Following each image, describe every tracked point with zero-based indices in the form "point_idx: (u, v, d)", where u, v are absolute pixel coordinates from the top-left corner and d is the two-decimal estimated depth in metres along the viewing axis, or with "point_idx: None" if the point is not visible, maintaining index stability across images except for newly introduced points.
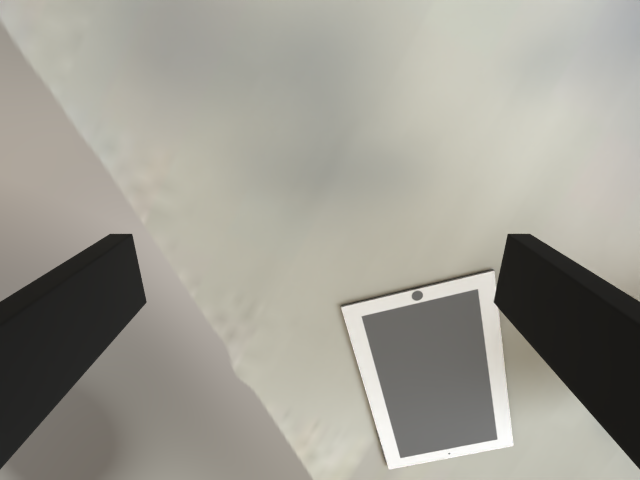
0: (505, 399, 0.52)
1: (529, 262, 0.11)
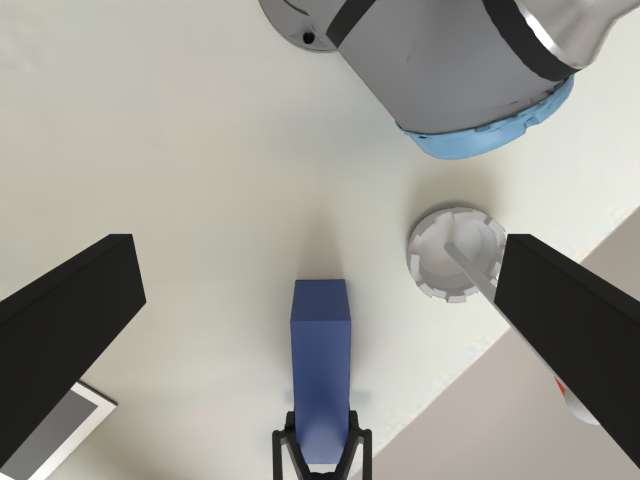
0: (52, 468, 0.66)
1: (530, 262, 0.11)
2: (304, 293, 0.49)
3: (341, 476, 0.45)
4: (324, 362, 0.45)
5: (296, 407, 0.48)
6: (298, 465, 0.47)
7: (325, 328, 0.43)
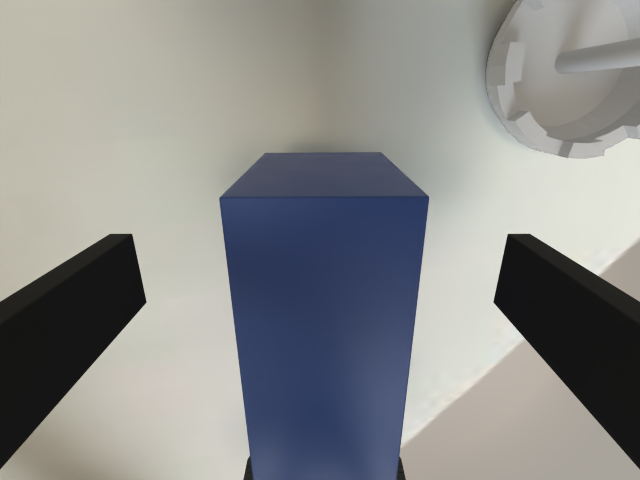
0: None
1: (530, 262, 0.11)
2: (280, 163, 0.18)
3: None
4: (334, 342, 0.15)
5: (256, 466, 0.18)
6: None
7: (339, 227, 0.13)
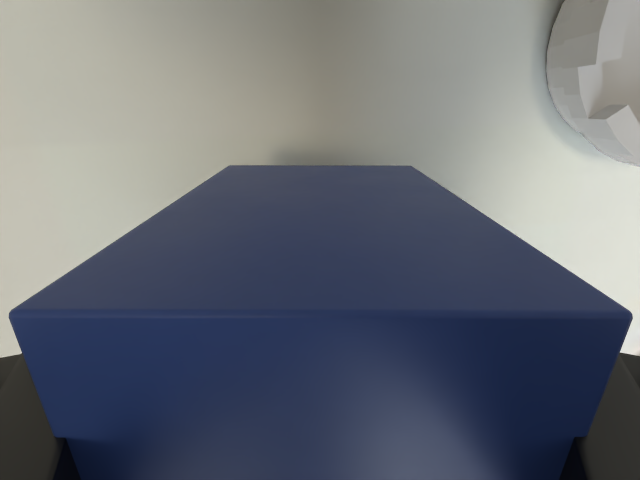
0: None
1: None
2: (244, 186, 0.10)
3: None
4: None
5: None
6: None
7: (364, 389, 0.04)
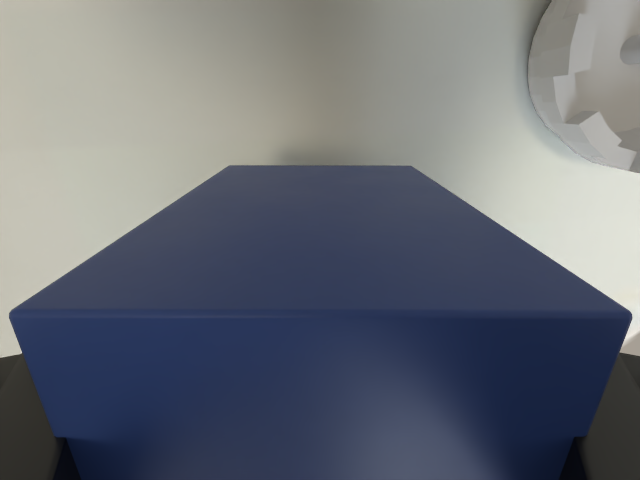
0: None
1: None
2: (244, 186, 0.10)
3: None
4: None
5: None
6: None
7: (364, 389, 0.04)
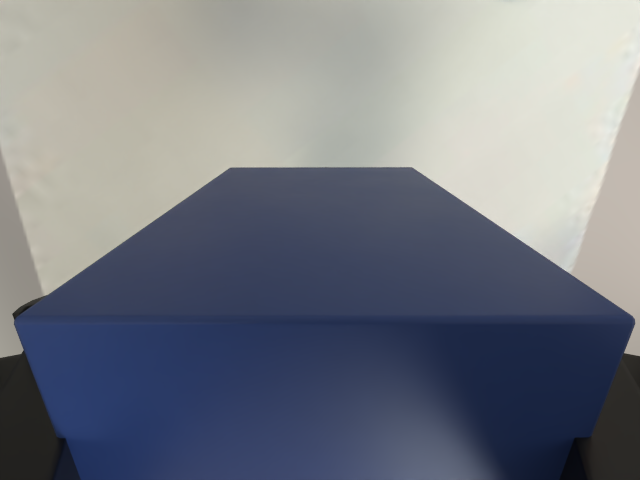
0: None
1: None
2: (245, 189, 0.10)
3: None
4: None
5: None
6: None
7: (367, 394, 0.04)
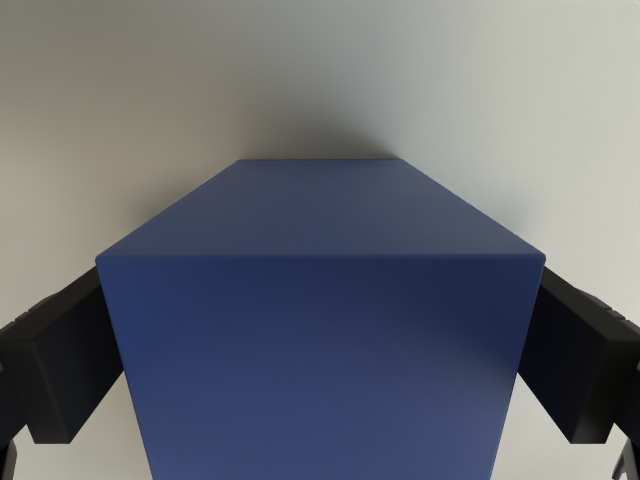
0: None
1: None
2: (254, 176, 0.12)
3: None
4: None
5: None
6: None
7: (353, 316, 0.06)
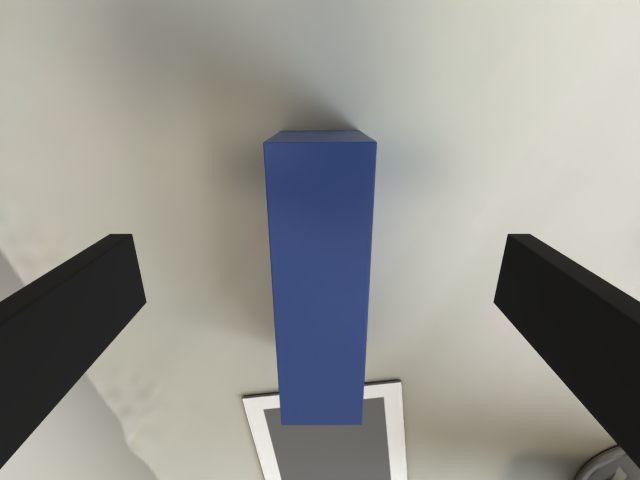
0: None
1: (530, 262, 0.11)
2: None
3: None
4: (326, 232, 0.25)
5: (277, 323, 0.28)
6: None
7: (328, 159, 0.23)
